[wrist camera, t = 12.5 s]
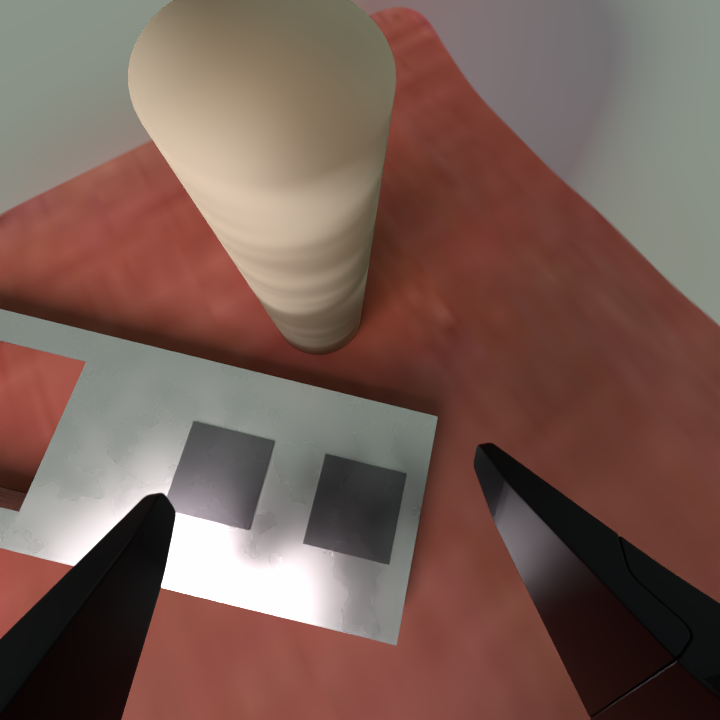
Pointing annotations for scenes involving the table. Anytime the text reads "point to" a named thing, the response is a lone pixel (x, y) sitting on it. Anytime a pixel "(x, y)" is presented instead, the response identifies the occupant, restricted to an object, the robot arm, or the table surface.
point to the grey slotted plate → (230, 480)
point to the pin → (276, 144)
